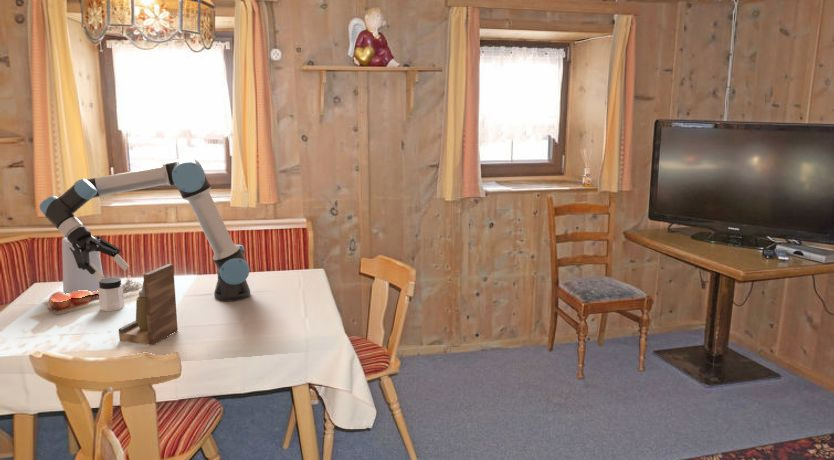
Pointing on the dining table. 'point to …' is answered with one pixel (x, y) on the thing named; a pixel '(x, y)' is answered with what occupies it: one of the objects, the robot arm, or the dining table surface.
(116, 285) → the jar
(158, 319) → the wooden bookend
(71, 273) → the plastic bottle
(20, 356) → the dining table surface
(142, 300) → the squeeze bottle
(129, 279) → the dining table surface
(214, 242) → the robot arm
